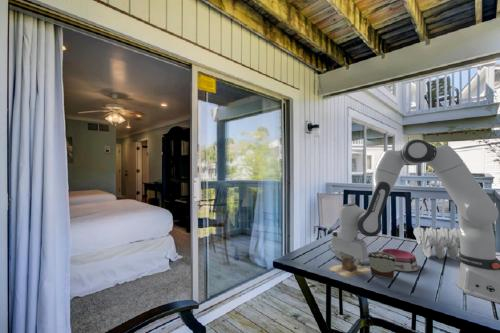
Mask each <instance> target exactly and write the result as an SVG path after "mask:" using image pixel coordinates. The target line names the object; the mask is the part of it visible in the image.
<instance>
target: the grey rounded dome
mask: <svg viewBox="0 0 500 333" xmlns="http://www.w3.org/2000/svg"><path fill="white" fill-rule="evenodd" d="M359 265H361V266H370V262H369V257H367V258H366V259H363V260H360V261H359Z"/></svg>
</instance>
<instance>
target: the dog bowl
mask: <svg viewBox="0 0 500 333" xmlns="http://www.w3.org/2000/svg"><path fill="white" fill-rule="evenodd" d="M380 252H383V253H388V254H391V255H393V256H395V258H396V261H397V262H396V261H395V270H394V272H398V273H399V272H400V273H416V272H418V271H419V265H418V263H417V259H416V255H415V254H414V253H413V252H410V251H408V250H404V249H399V248H383V249H381V251H380Z"/></svg>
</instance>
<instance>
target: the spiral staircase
mask: <svg viewBox="0 0 500 333" xmlns="http://www.w3.org/2000/svg"><path fill="white" fill-rule="evenodd" d="M413 235H414V236H415V238H416V242H417V245H422V250H421V251H422V252H423V254H424V257H427V259H430V258H431V256H432V252H434V253H435V256H436V258H438V259H439V260H440V259H441V260H442V259H443V258H444V256H445V253H446V255H448V256H449V259H453V260H456V259H457V257H459V252H460V231H459V228H457V227H456V226H455V227H453V228H452V229H451V228H446V227H445V228H444V226H441V227H440V228H437V229H434V228H433V226H430V227H426V228H422V227H421V226H420V225H418V226H417V227H414V229H413ZM432 247H433V249H432ZM445 249H446V251H445Z"/></svg>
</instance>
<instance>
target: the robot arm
mask: <svg viewBox="0 0 500 333" xmlns="http://www.w3.org/2000/svg"><path fill="white" fill-rule="evenodd" d="M423 163H425V164H428V165H429V166H430V167H431V169H432V170H433V171H434V173H435V175H436V176H437V178H438V180H439V182H440V183H441V184H442V186H443V187H444V189H445V191H446V192H447V194H448V195H449V197H450V198H451V200H452V201H453V203H454V204H455V205H456V208H457V218H458V219H457V220H458V229H459V231H460V252H459V251H458V252H459V253H458V261H459V273H458V277H457V280H456V286H457V287H459V288H460V289H461V290H462V291H463V292H464V293H465V294H467V295H469V296H474V297H477V298H480V299H484V300H486V301H489V302H494V303H497V304H500V259H498V258H497V253H496V247H497V244H496V236H495V232H494V226H493V224H494V223H495V222H496V221H497V220H498V218H499V215H500V214H499V209H498V207H497V205H496V204H495V203H494V202H493V200H492V199H491V197H490V196H489V195H488V193H487V192H486V191H485V190H484V188H483V187H482V186H481V185H480V183H479V181H478V180H476V178H475V176H474V175H473V173H472V172H471V171H470V169H469V168H468V166H467V165H466V163H465V162H464V160H463V159H462V158H461V156H460V155H459V153H457V151H456V150H454V148H452V147H451V146H450V145H447V144H440V145H433V144H431V143H429V142H428V141H426V140H423V139H418V138H417V139H412V140H409V141H408V142H406V143H405V144H404V145H403V147H402V148H400V149H399V150H395V149H394V150H393V149H387V150H385V151H383V152H382V153H381V155H380V156H379V158H378V160H377V162H376V164H375V167H374V169H373V171H372V175H371V182H370V183H371V186H372V187H371V188H372V194H371V198H370V201H369V204H368V207H367V209H364V208H361V207H359V206H358V205H357V204H355V203H346V204H343V205H342V206H340V208H339V214H338V216H339V217H338V219H339V220H338V222H339V227H338V230H333V231H331V243H332V245H331V249H332V250H334V249H335V250H337V252H338V255H339V258H338V259H339V260H341V261H342V259H343V258H344V256H343V255H342V252H343V253H346V254H348V255H351V256H353V257H352V258H354V259H355V260H356V262H354V265H355V266H359V265H360V264H359V261H360V260H363V259H366V258H369V257H368V248H367V243H366V241H365V240H364V239H362V238H359V233H360V234H362V235H364V236H366V237H370V238H372V237H375V236H377V235H379V234H380V233H381V231H382V226H383V224H382V215H383V213H384V210H385V207H386V204H387V201H388V198H389V196H390V194H391V192H392V190H393V188H394V187H395V185H396V183H397V181H398V179H399V175H400V173H401V170H402V169H403V167H404V166H418V165H421V164H423ZM358 231H359V232H358Z"/></svg>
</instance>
